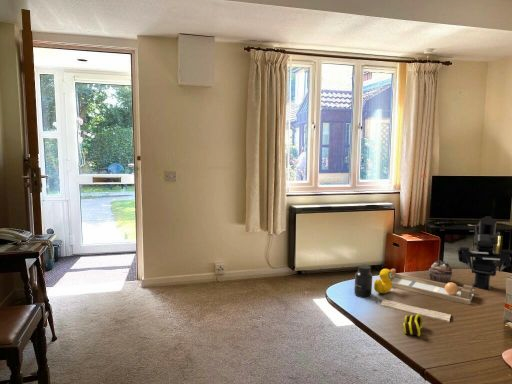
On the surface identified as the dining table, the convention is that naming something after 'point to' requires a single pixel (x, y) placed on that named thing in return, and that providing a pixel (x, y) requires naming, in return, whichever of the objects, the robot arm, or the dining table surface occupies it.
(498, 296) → the dining table surface
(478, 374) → the dining table surface
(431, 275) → the cupcake
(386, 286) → the duckling
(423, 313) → the beige long flat bar
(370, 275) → the supplement bottle
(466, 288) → the paddle block
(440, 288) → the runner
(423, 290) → the lane rails
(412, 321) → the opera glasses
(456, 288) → the ball
